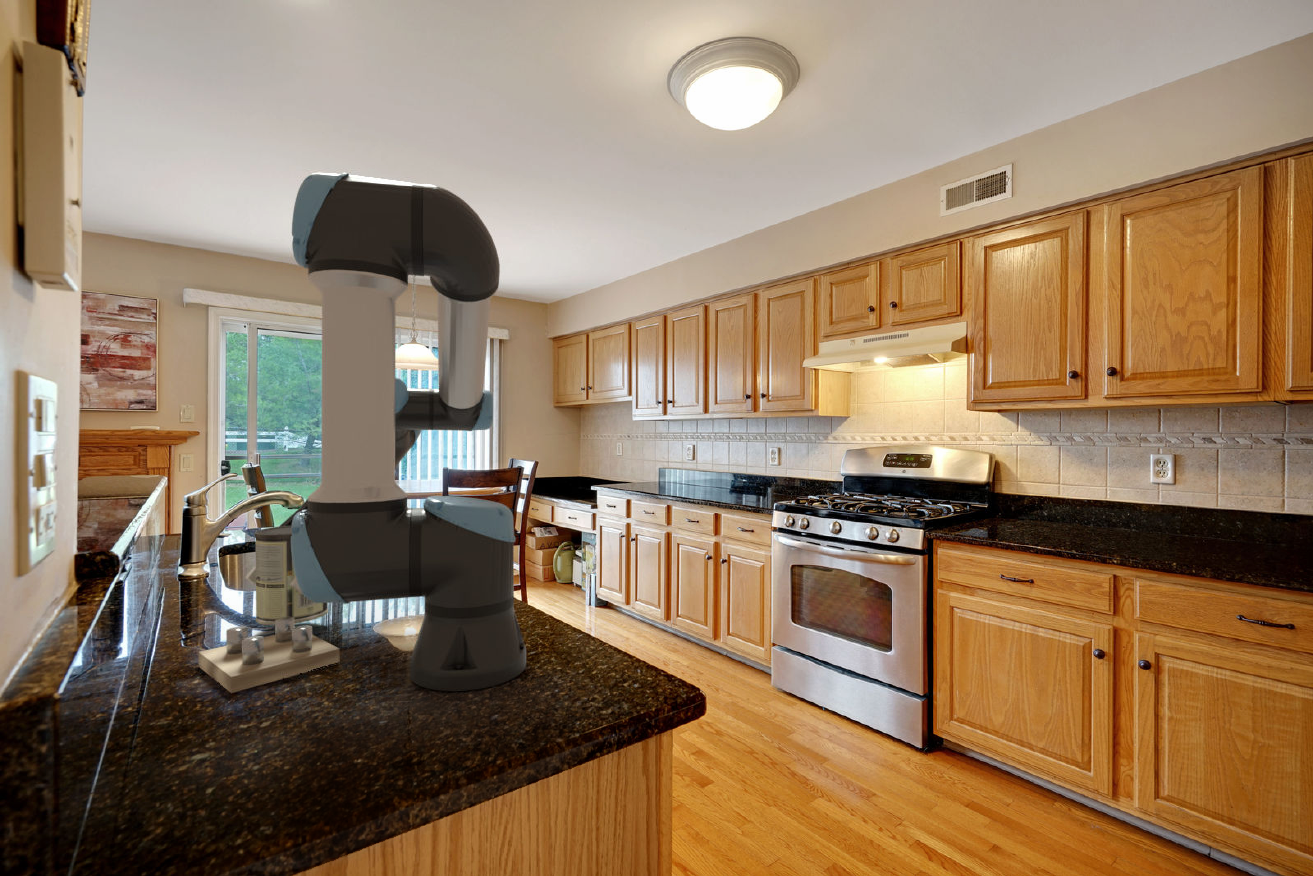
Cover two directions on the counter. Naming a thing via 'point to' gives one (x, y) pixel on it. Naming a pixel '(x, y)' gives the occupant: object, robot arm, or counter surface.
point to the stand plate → (265, 663)
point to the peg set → (255, 645)
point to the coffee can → (279, 580)
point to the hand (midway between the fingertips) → (274, 586)
